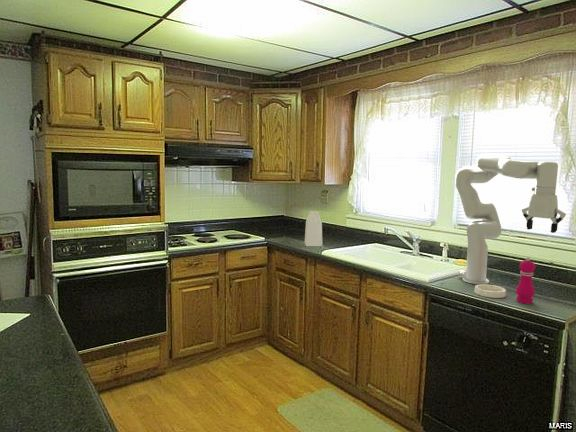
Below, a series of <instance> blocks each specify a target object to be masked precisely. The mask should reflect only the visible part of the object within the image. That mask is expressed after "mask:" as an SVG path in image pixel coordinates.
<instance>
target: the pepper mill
mask: <svg viewBox="0 0 576 432" xmlns="http://www.w3.org/2000/svg"><path fill="white" fill-rule="evenodd" d="M519 269H520V272H519V274H520V280H519V283H518V285H517V286H516V288H515V293H516V294H517V296H516V301H517V302H518V303H521V304H526V305H529V304H531V305H532V304H533V302H534V298H533V297H534V296H535V295H536V293H535V291H536V290H535V287H534V285H533V281H532V280H533V276H534V271H535V270H536V264H535V263H534V262H533V261H531V257H529V256H527V257H526V258H525V260H522V261H521V262H520V263H519Z"/></svg>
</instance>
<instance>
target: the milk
mask: <svg viewBox="0 0 576 432" xmlns="http://www.w3.org/2000/svg"><path fill="white" fill-rule="evenodd" d="M304 231H305V232H304V243H305V245H306V246H322V247H323V222H322V219H321V215H320V213H319V211H318V210H316V211H315V210H309V212H308V215H307V217H306V220H305V230H304ZM305 245H304V246H305Z"/></svg>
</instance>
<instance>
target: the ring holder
mask: <svg viewBox="0 0 576 432" xmlns="http://www.w3.org/2000/svg"><path fill="white" fill-rule="evenodd" d="M473 291H474V294H476V295H478V296H480V297H485V298H492V299H502V298H503V299H504V298H505V297H506V296H507V295H506V294H507V289H506V288H505V287H502V286H499V285H494V284H475V285H474V289H473Z"/></svg>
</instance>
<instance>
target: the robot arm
mask: <svg viewBox="0 0 576 432" xmlns="http://www.w3.org/2000/svg"><path fill="white" fill-rule="evenodd" d="M475 162H476V166H465V167H462V168H460V169H459V170H458V171H457V172H456V174H455V179H454V184H455V187H456V189H457V191H458V194H459V196H460V200H461V204H462V208H463V211H464V215H465V216H466V217H467V219H469V220H475V221H471V222H469V224H468V225H467V227H466V236H467V251H466V252H467V254H466V266H465V267H466V269H465V271H464V270H461V269H460V270H459V271H458V274H459V275H461V276H463V277H462V281H463V282H465V283H468V284H475V285H479V284H487V285H489V284H490V279H488V278H487V269H488V267H487V266H488V256H489V255H488V253H489V247H488V243H487V242H486V241H487V240H493V239H497V238H499V237H500V236H501V234H502V225H501V221H500V218H499V215H498V212H497V208H496V207H495V204H494V203H493V202H491V201H489V200H481V199H480V196H479V193H478V191H477V189H476V188H475V187H474V186H473V184H485V183H488V182H489V181H491V180H492V179H494V178H495V177H497V176H498V175H502V176H504V177H509V178H514V179H519V180H520V179H527V180H530V179H531V180H534V179H535V186H534V187H532V188H531V191H532V192H534V193H532V194H531V198H530V201H529V204H528V207H525V208H522V209H521V212H522V213H521V214H522V216H523V217H524V218H525V220H526V229H527V230H532V229H533V223H534V220H533V218H539V219H550V220H551V222H552V223H551V225H550V233H552V234H553V233H554V234H555V233H556V232H557V231H558V224H559V223H560V222H562V221H563V220H564V218H565V217H566V216H567V214H566V213H565V212H564V211H562V210H561V209H558V203H559V201H558V196H557V194H556V191H557V180H558V172H559V165H558V163H557V162H554V161H553V162H552V161H542V162H541V161H532V160H530V161H528V160H527V161H526V160H525V161H524V160H514V159H512V158H511V157H509V156H507V155H502V154H501V153H484V154H481V155H479V156H478V157H477V158H476V161H475ZM558 215H559V217H558Z"/></svg>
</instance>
